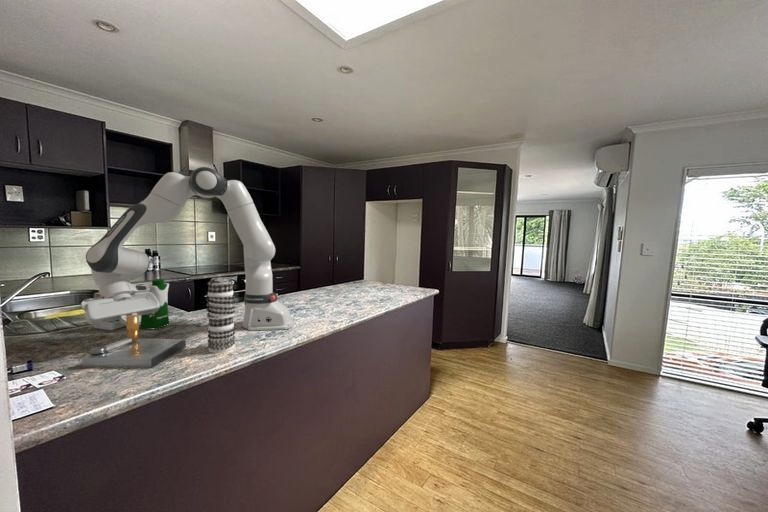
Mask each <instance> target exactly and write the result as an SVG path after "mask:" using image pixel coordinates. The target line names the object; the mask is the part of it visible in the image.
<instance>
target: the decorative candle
mask: <svg viewBox="0 0 768 512" xmlns="http://www.w3.org/2000/svg"><path fill="white" fill-rule="evenodd" d="M233 283H234V281H233V280H232V279H231V278H229V277H225V276H222V277H219V276H218V277H213V278H211V279H210V281H209V282H207V287H208V289H207V290H208V291H207V295H206V297H205V301H206V302H207V303H206V305H205V306H206V308H205V309H206V311H207V314H206V317H207V318H208V330H207V338H208V339H207V343H208V344H207V347H208V348H207V351H208V352H210V353H214V354H218V353H225V352H228V351H231V350H234V348H235V347H236V345H235V344H236V340H235V339H236V336H235V334H236V331H235V330H236V327H234V326H235V322H234V316H235V313H236V311H235V310H234V309H235V308H236V306H235V305H234V304H235V303H236V301H235V299H236V296H234V290H233V287H234V285H233Z"/></svg>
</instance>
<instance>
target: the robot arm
mask: <svg viewBox="0 0 768 512" xmlns="http://www.w3.org/2000/svg"><path fill="white" fill-rule="evenodd" d="M191 197H196V198H200V199H213V198H215V197H216V198H218V199H219V200H220V201H221V202H222V204H223V206H224V208H225V209H226V212H227V215H228V218H229V219H230V222H231V224H232V226H233V227H234V230H235V232H236V234H237V235H238V237H239V239H240V241H241V243H242V245H243V260H244V261H243V263H244V274H245V276H244V277H245V293H244V297H243V298H244V299H243V300H244V306H245V307H244V308H245V309H244V315H243V319H242V324H241V327H243V328H244V329H247V330H248V331H250V332H251V331H253V332H255V331H272V330H273V331H275V330H276V331H277V330H279V331H280V330H287V329H290V328H292V327H293V326H295V324H296V323H297V320H296V319H295V317H291V312H290V309H289V308H288V307H287V306H286V305H284V304H283V303H281V302H280V301H278V295H279V294H278V293H275V292H274V291H273V288H274V287H273V285H274V284H273V271H272V263H271V261H272V259H273V258H274V257H275V255H276V246H275V244H274V242H273V240H272V238H271V236H270V234H269V232H268V230H267V229H266V226H265V225H264V223H263V221H262V219H261V217H260V214H259V212H258V210H257V207H256V205H255V203H254V200H253V198H252V197H251V194H250V193H249V191H248V189H247V188H246V186H245V185H244V183H243V182H242V181H240V180H237V179H230V180H229V179H226V178H225V177H224V176H223V175H222V174H220V173H219V172H218V171H217V170H215V169H213V168H211V167H209V166H201V167H197V168H196V169H194V170H193V171H192V172H191V173H190V175H189V176H187V175H183V174H181V173H178V172H173V171H171V172H169V171H168V172H166V173H165V174H164V175H163V176H162V177H161V178H160V179H159V180H158V182H156V184H155V185H154V187H153V188H152V190H151V191H150V193H149V194H148V196H146V198H144V199H143V200H141V201H140V202H139V203H134V204H133V205H131V206H130V207H128V208H127V209H126V210H125V211H124V212H123V214H122V215H121V216H120V217H119V218H118V219H117V220H116V222H114V223H113V225H112V226H111V227H110V228H109V229H108V231H107V232H106V233H105V234H104V235H103V236H102V238H100V239H99V240H98V241H97V242H95V243H94V244H93V245H92V246H91V247H89V249H88V251H87V252H86V254H85V261H86V263H87V265H88V267H89V268H90V270H91V271H90V272H91V275H92V278H93V282H94V283H95V285H96V286H97V287H98V293H100V295H101V297H97V298H94V297H93V298H86V299H84V300H83V301H81V303H80V306H81V308H82V310H83V311H84V313H85V320H86V323H87V324H89V325H92V326H94V324H99V323H104V322H109V321H114V320H120V322H121V323H123V324H125V325H126V326H125V327H127V323H126V316H129V315H138V316H140V315H145V314H150V313H155V312H157V311H158V309H159V308H160V303H159V301H158V299H157V298H156V296H155V295H154V294H153V293H152V292H149V291H150V288H149V286H145V284H135V283H131V281H133V280H136V279H137V278H138V277H141V276H142V275H144V274H145V273H146V272H147V271H148V270H149V269H150V266H151V265H150V264H151V263H150V262H151V260H150V257H149V255H148V254H147V253H146V252H144V251H140V250H137V249H134V248H133V249H132V248H129V247H125V246H123V245H124V244H125V243H126V241H127V240H128V239H129V238H130V237H131V236H132V234H133V233H135V231H136V230H137V229H138V228H140V227H141V226H144V225H147V224H164V223H165V224H166V223H170V222H172V221H174V220H176V218H178V217H179V215H180V213H182V210H183V208H184V207H185V205H186V203H187V201H188V200H189V199H190V198H191Z"/></svg>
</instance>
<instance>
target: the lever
mask: <svg viewBox="0 0 768 512" xmlns="http://www.w3.org/2000/svg"><path fill="white" fill-rule="evenodd" d="M126 323H127V326H126V338H123V339H120V340H117V341H115V342H112V343H109V344H106V345H99V346H94V347H92V348H90V350H89V354H90V355H99V354H103V353H105V352H106V350H109V349H112V348H115V347H117V346H120V345H123V344H126V343H129V342H134V341H138V340H139V339H140V323H139V316H138V315H129V316H126Z"/></svg>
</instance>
